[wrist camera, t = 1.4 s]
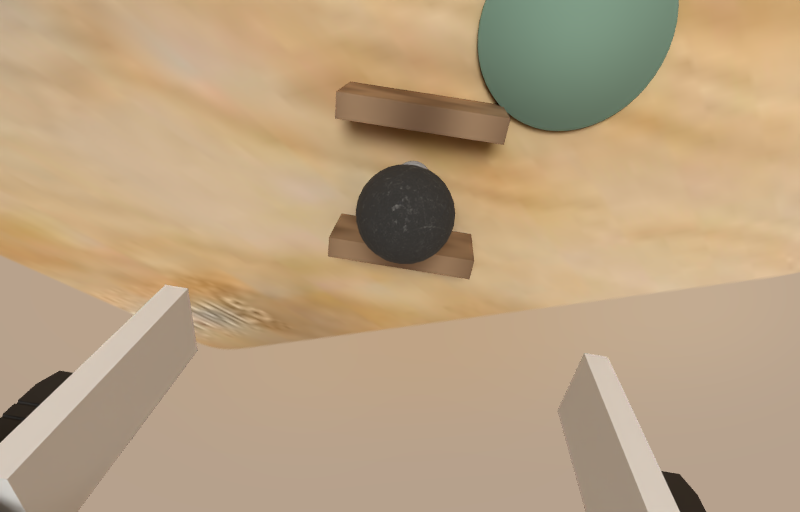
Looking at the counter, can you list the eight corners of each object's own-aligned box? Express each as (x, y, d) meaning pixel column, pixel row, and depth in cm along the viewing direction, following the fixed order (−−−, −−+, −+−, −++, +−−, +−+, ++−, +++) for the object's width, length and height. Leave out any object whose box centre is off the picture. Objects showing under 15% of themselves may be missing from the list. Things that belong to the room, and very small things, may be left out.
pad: (461, 115, 28) (461, 116, 27) (502, -98, 22) (504, -100, 22) (627, 140, 28) (630, 143, 27) (710, -67, 22) (717, -69, 22)
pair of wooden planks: (340, 230, 33) (328, 256, 30) (350, 81, 28) (336, 91, 24) (467, 251, 33) (469, 279, 29) (502, 105, 27) (510, 118, 24)
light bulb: (363, 148, 30) (329, 203, 21) (440, 123, 28) (438, 172, 20) (389, 218, 32) (368, 293, 24) (462, 198, 31) (468, 270, 22)
